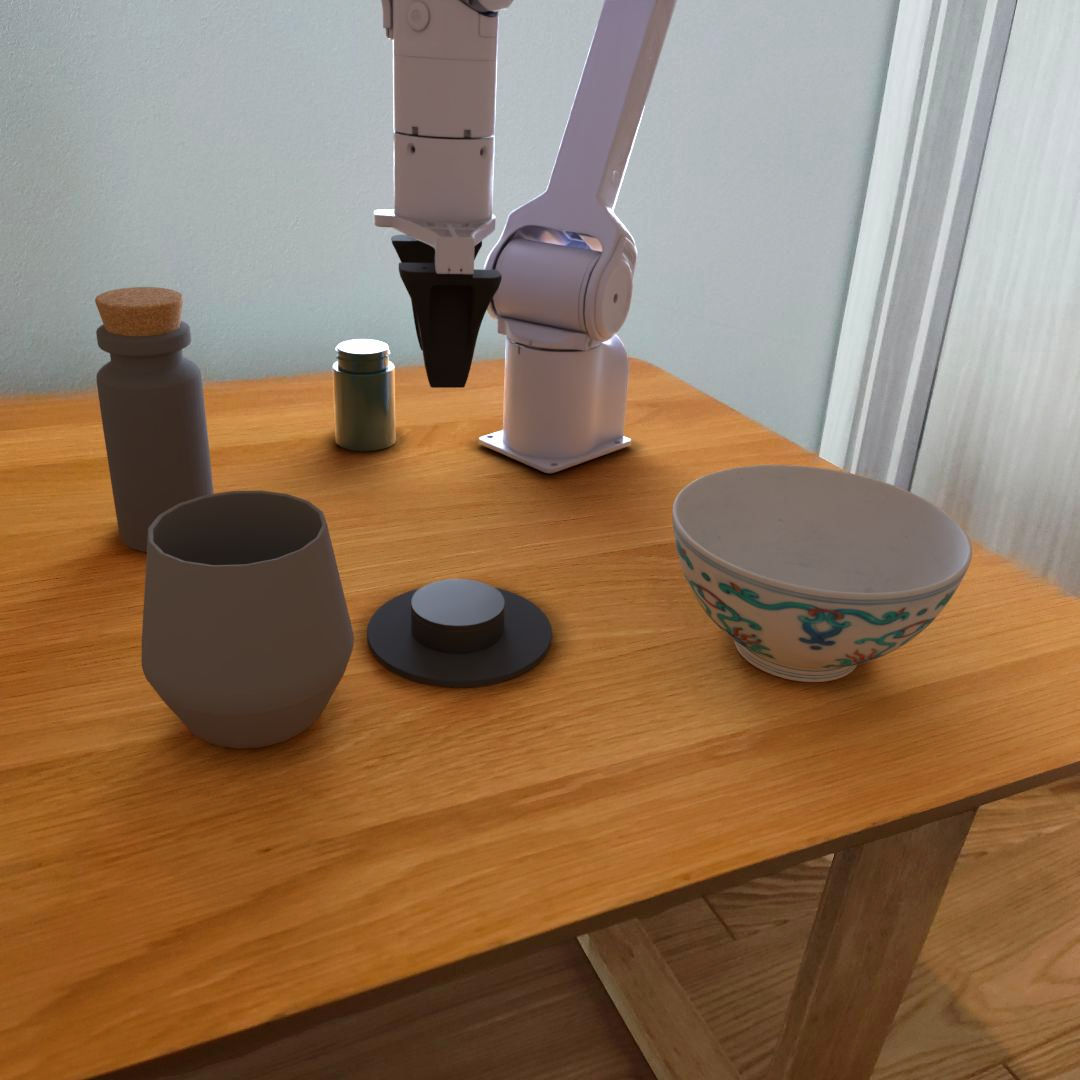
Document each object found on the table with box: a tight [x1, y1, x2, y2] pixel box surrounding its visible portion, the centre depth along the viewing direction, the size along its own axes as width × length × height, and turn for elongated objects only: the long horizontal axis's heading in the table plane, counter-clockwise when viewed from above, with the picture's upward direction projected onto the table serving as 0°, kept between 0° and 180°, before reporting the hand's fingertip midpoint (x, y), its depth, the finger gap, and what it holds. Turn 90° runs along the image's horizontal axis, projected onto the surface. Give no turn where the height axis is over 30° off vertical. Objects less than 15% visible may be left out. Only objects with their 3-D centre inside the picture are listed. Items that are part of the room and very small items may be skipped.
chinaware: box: [672, 464, 973, 683], centre depth 56 cm, size 15×15×8 cm
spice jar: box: [331, 338, 397, 452], centre depth 80 cm, size 5×5×8 cm
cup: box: [141, 490, 355, 750], centre depth 48 cm, size 10×9×10 cm
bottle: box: [94, 286, 215, 553], centre depth 63 cm, size 6×6×15 cm
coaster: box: [366, 586, 553, 688], centre depth 58 cm, size 10×10×1 cm
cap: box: [411, 578, 505, 653], centre depth 57 cm, size 5×5×2 cm
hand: (441, 366), depth 66 cm, fingers open, 7 cm apart
